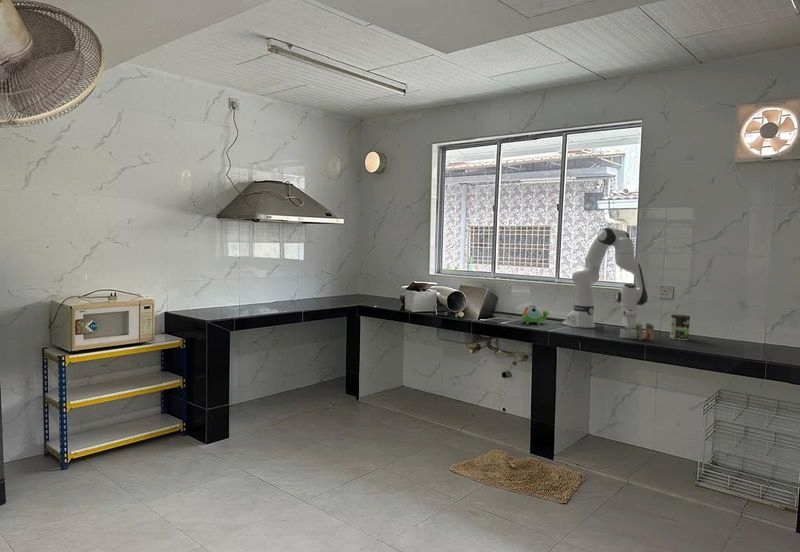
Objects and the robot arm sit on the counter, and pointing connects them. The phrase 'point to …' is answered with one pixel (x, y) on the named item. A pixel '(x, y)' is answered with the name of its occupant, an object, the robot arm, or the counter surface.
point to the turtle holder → (534, 315)
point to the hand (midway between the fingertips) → (627, 333)
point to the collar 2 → (650, 330)
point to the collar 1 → (640, 328)
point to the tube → (633, 334)
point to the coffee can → (679, 327)
